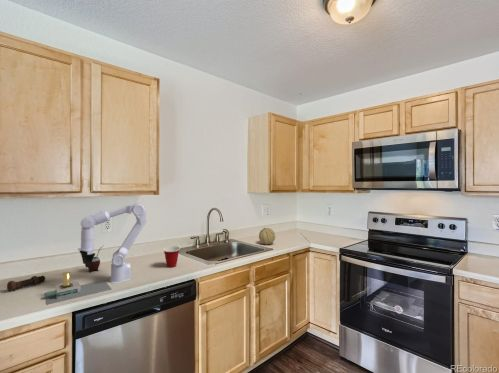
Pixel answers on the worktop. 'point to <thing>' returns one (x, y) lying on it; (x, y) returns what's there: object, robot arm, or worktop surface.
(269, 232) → the cantaloupe
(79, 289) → the grey teal hollow block
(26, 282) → the bolt
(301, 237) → the worktop surface
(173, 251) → the plastic cup
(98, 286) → the mat
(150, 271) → the worktop surface
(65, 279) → the pin
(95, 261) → the mate gourd
